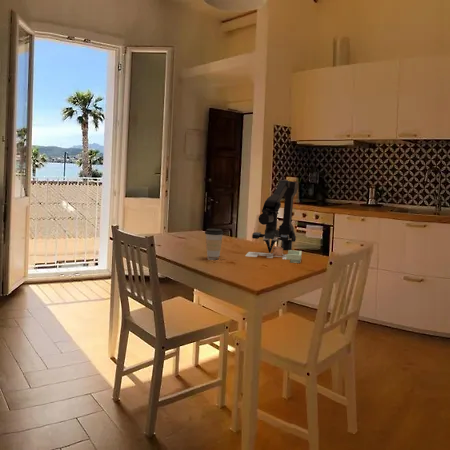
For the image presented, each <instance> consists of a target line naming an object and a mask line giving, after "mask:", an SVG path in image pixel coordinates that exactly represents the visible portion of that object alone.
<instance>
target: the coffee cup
mask: <svg viewBox="0 0 450 450" xmlns="http://www.w3.org/2000/svg"><path fill="white" fill-rule="evenodd" d="M224 233H225V232H224V231H223V229H221V228H206V229H205V231H204V234H205V244H206V246H205V247H206V256H207V257H206V258H207V260H209V261H219V259H220V258H219V257H220V254H221V250H222V249H221V248H222V242H223V240H222V239H223V235H224Z"/></svg>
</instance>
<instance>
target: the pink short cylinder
mask: <svg viewBox="0 0 450 450" xmlns="http://www.w3.org/2000/svg"><path fill="white" fill-rule="evenodd" d="M272 250H273V251H272V254H273V256H283V254H284V250H283V248H282V246H281V247H280V246H273V247H272Z"/></svg>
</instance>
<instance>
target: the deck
mask: <svg viewBox="0 0 450 450" xmlns="http://www.w3.org/2000/svg"><path fill="white" fill-rule="evenodd" d="M302 253H303V251H302V250H295V249H292V250H287V253H286V254H284V253H283V256H273V252H272V253H269V252H257V251H248V252H247V253H246V254H245V257H250V258H251V257H252V258H257V257H258V256H262V257H266V259H273V258H275V257H277V258H282V260H289V263H295V264H301V261H302Z"/></svg>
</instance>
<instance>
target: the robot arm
mask: <svg viewBox="0 0 450 450" xmlns="http://www.w3.org/2000/svg"><path fill="white" fill-rule="evenodd" d="M298 189H299V184H298V183H297V181H293V180H291V181H290V180H288V179H281V180H279V183H278V186H277V187H276V189H275V190H274V192H273V194H272V195H270V196H268V197H267V198H266V200H265V201H264V204H263V206H262V208H261V212H262V213H261V214H259V216H258V222H259V224H260V225H262V226H263V225H265V228H264V233H262V232H259V231H254V232H253V233H252V235H251V239H255V240H256V239H257V240H258V239H260V238H261V239H262V241H263V242H265V244H266V247H267V251H268V253H271V252H272V250H273V247H274V244H275V243H276V242H278V241H281V247H282V248H283V251H288V250H293V249H292V248H293V242H294V243H295V242H296V241H297V237H296V234H295V227H294V225H293V224H292V218H293V208H294V206H293V205H294V199H295V196H296V195H297V193H298ZM283 197H284V203H283V204H284V205H283V217H282V218H283V219H282V223H281V224H280V225H279V226H278V215H279V210H280V209H281V206H282V204H281V201H282V198H283ZM277 226H278V227H277Z"/></svg>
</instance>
